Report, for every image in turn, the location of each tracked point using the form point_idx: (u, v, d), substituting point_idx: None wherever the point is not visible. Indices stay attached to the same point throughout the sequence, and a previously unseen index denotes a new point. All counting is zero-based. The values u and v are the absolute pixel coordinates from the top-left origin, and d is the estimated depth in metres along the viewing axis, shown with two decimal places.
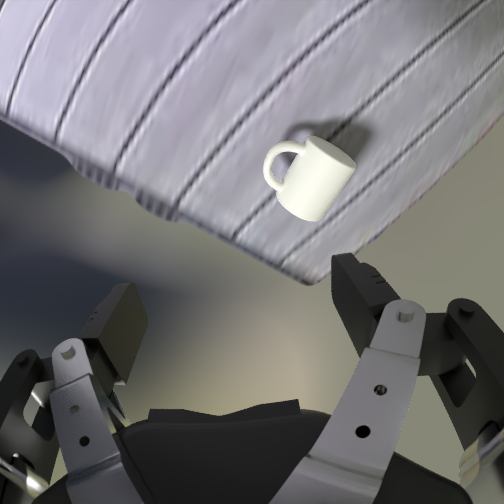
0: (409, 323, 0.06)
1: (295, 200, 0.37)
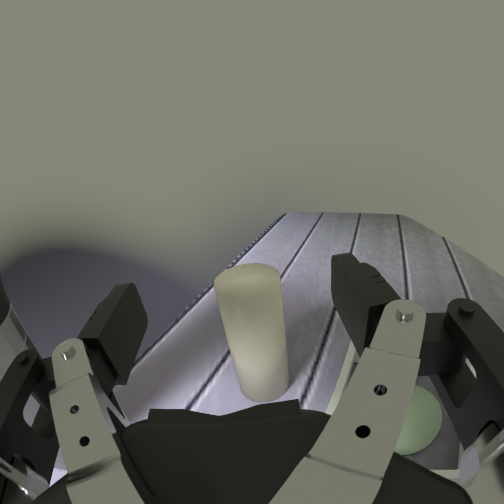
0: (409, 323, 0.06)
1: None
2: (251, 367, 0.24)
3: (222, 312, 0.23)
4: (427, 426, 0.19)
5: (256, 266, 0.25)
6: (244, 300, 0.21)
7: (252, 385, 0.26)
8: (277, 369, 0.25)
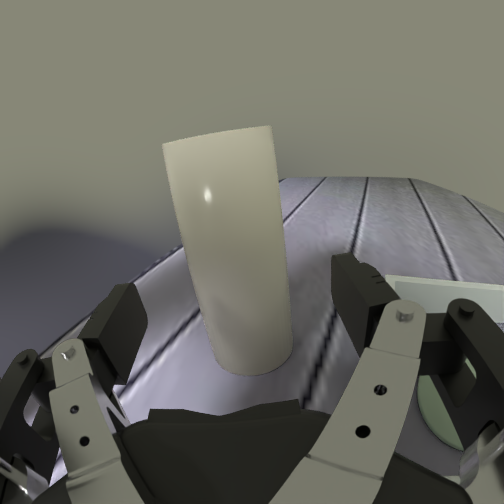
0: (409, 323, 0.06)
1: None
2: (224, 299, 0.14)
3: (172, 185, 0.13)
4: None
5: None
6: (205, 139, 0.11)
7: (229, 340, 0.15)
8: (271, 307, 0.15)
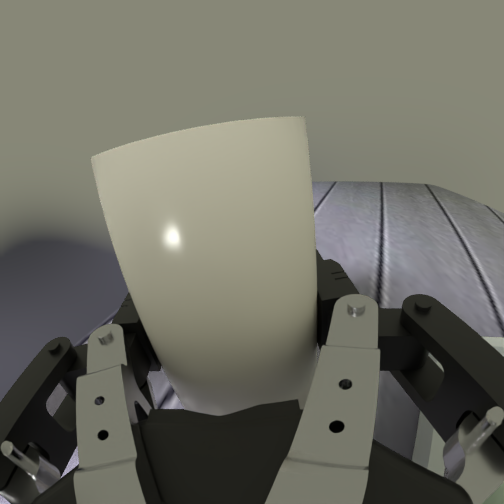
0: (358, 317, 0.07)
1: None
2: None
3: (111, 238, 0.06)
4: None
5: None
6: (158, 147, 0.04)
7: None
8: None
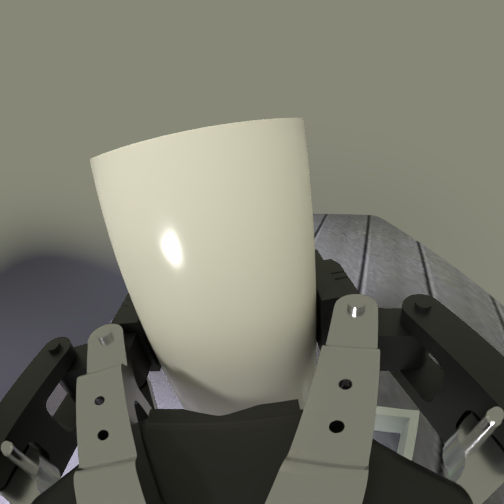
0: (358, 317, 0.07)
1: None
2: None
3: None
4: None
5: None
6: (155, 149, 0.04)
7: None
8: None
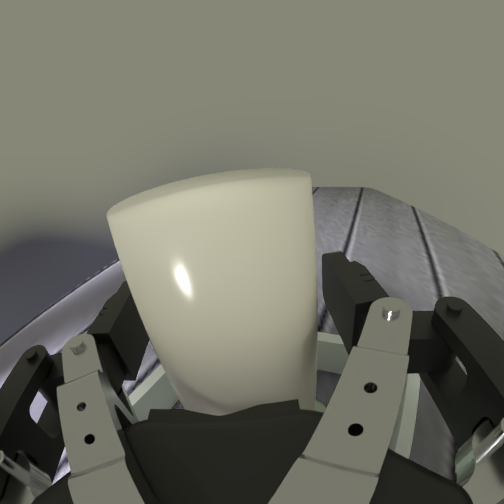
0: (395, 321, 0.06)
1: None
2: None
3: (130, 289, 0.07)
4: None
5: (241, 171, 0.09)
6: (176, 226, 0.05)
7: None
8: None
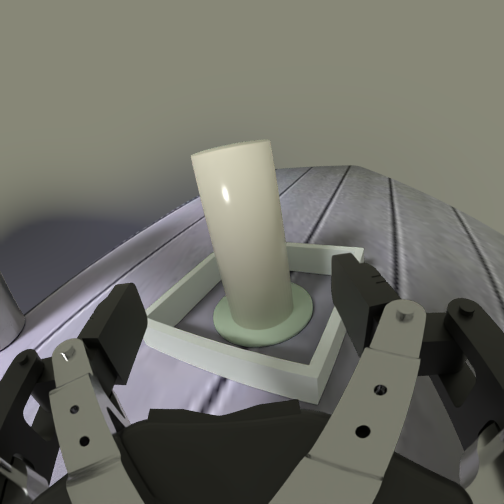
0: (409, 323, 0.06)
1: None
2: (239, 267, 0.20)
3: (200, 186, 0.18)
4: (287, 320, 0.23)
5: (243, 142, 0.20)
6: (224, 155, 0.16)
7: (244, 300, 0.21)
8: (274, 273, 0.20)
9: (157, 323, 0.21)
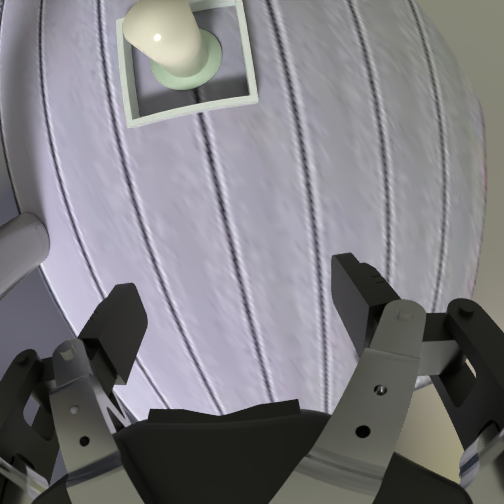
0: (409, 323, 0.06)
1: None
2: (184, 64, 0.23)
3: (148, 53, 0.18)
4: (209, 59, 0.28)
5: None
6: (172, 40, 0.16)
7: (187, 71, 0.26)
8: (202, 52, 0.23)
9: (145, 117, 0.28)
